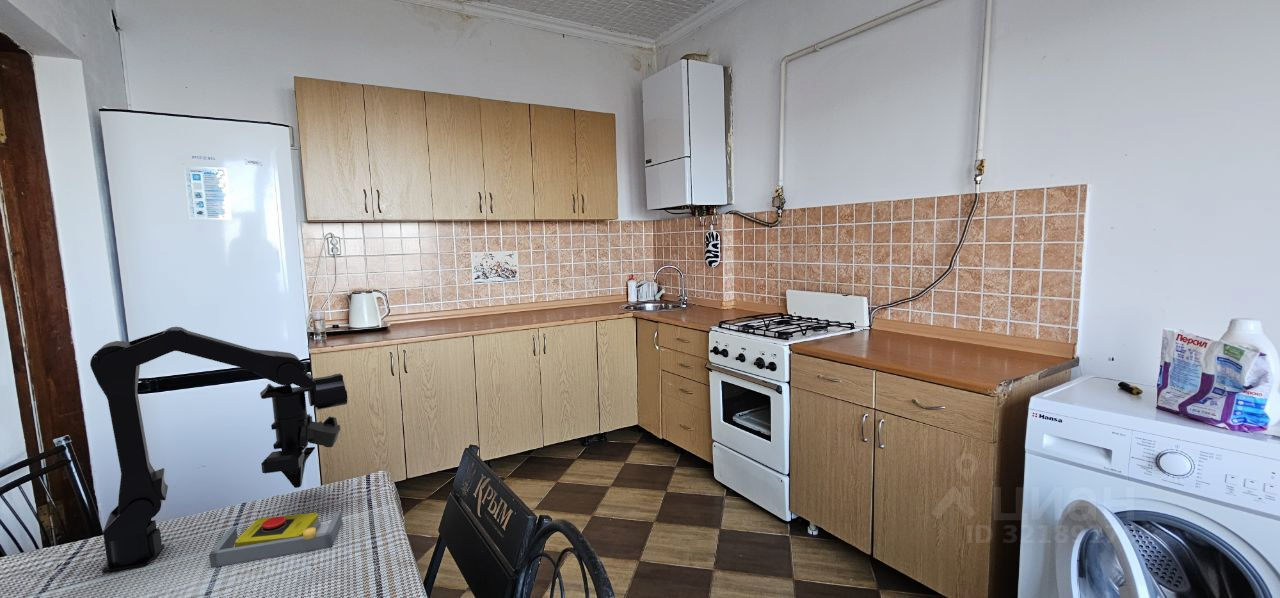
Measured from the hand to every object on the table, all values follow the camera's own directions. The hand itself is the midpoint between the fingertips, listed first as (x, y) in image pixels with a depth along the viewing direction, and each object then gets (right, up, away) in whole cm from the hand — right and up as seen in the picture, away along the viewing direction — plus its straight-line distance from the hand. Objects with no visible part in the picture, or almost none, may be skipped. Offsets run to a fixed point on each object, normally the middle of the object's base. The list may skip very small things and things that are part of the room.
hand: (298, 486), depth 114 cm
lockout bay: (+3, -7, -10) cm, 13 cm away
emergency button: (+3, -8, -9) cm, 12 cm away
